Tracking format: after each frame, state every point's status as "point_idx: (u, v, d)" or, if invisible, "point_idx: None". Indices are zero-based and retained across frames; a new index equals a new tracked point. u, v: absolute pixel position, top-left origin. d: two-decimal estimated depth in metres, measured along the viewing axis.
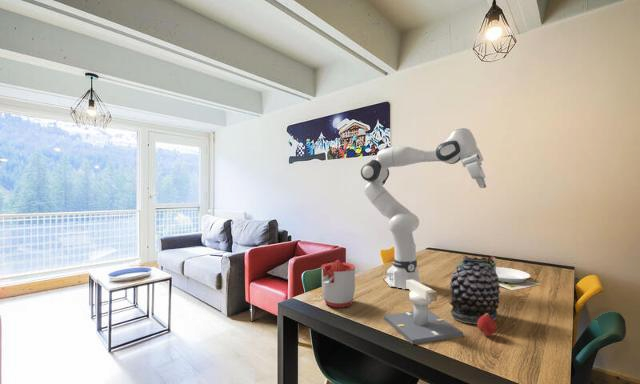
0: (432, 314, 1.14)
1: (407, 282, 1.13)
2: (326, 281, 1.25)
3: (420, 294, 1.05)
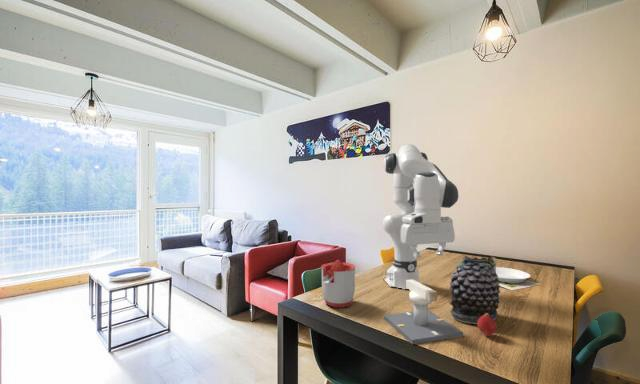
0: (432, 314, 1.14)
1: (407, 282, 1.13)
2: (326, 281, 1.25)
3: (420, 294, 1.05)
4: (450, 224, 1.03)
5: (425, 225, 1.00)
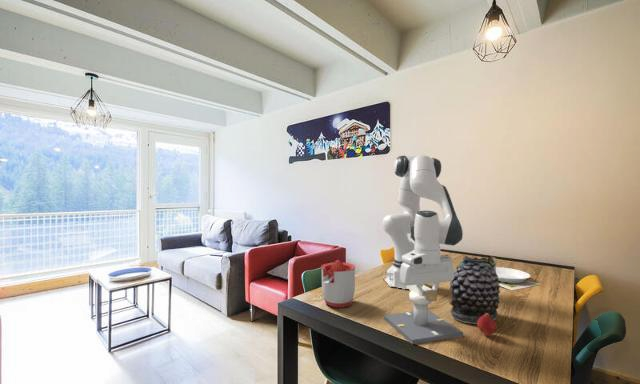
0: (432, 314, 1.14)
1: None
2: (326, 281, 1.25)
3: None
4: (450, 263, 1.03)
5: (425, 265, 1.00)
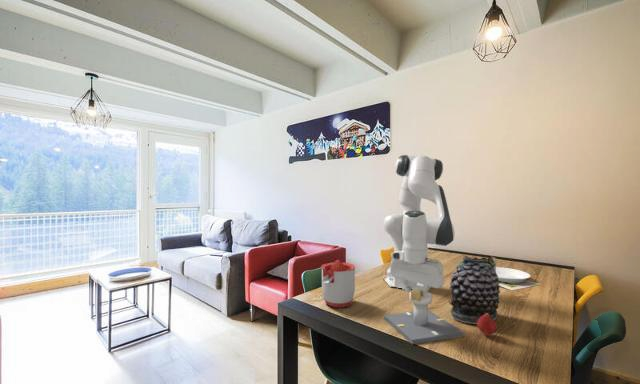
0: (432, 314, 1.14)
1: None
2: (326, 281, 1.25)
3: None
4: (433, 268, 0.97)
5: (406, 262, 1.05)
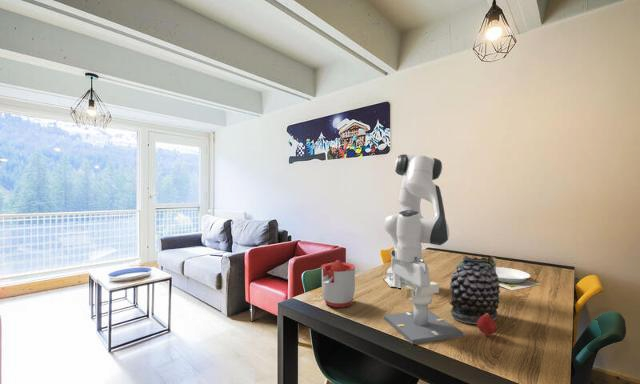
0: (432, 314, 1.14)
1: None
2: (326, 281, 1.25)
3: None
4: (417, 267, 0.98)
5: None
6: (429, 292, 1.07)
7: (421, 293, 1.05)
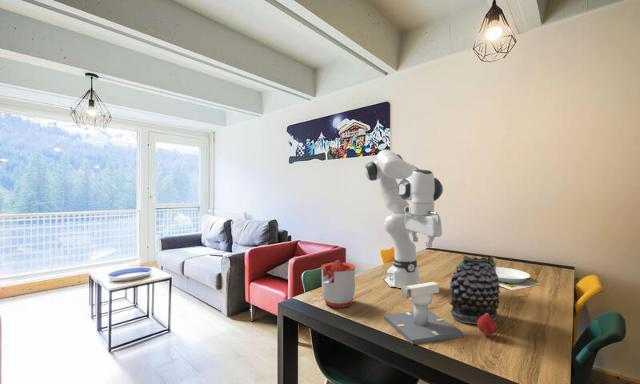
0: (432, 314, 1.14)
1: None
2: (326, 281, 1.25)
3: None
4: (430, 219, 1.07)
5: None
6: (429, 292, 1.07)
7: (421, 293, 1.05)
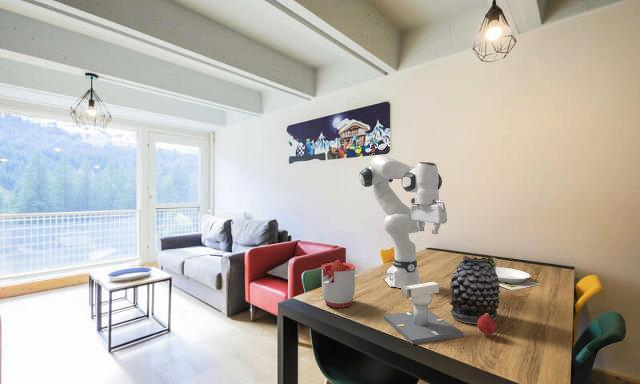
0: (432, 314, 1.14)
1: None
2: (326, 281, 1.25)
3: None
4: (436, 207, 1.14)
5: None
6: (429, 292, 1.07)
7: (421, 293, 1.05)
